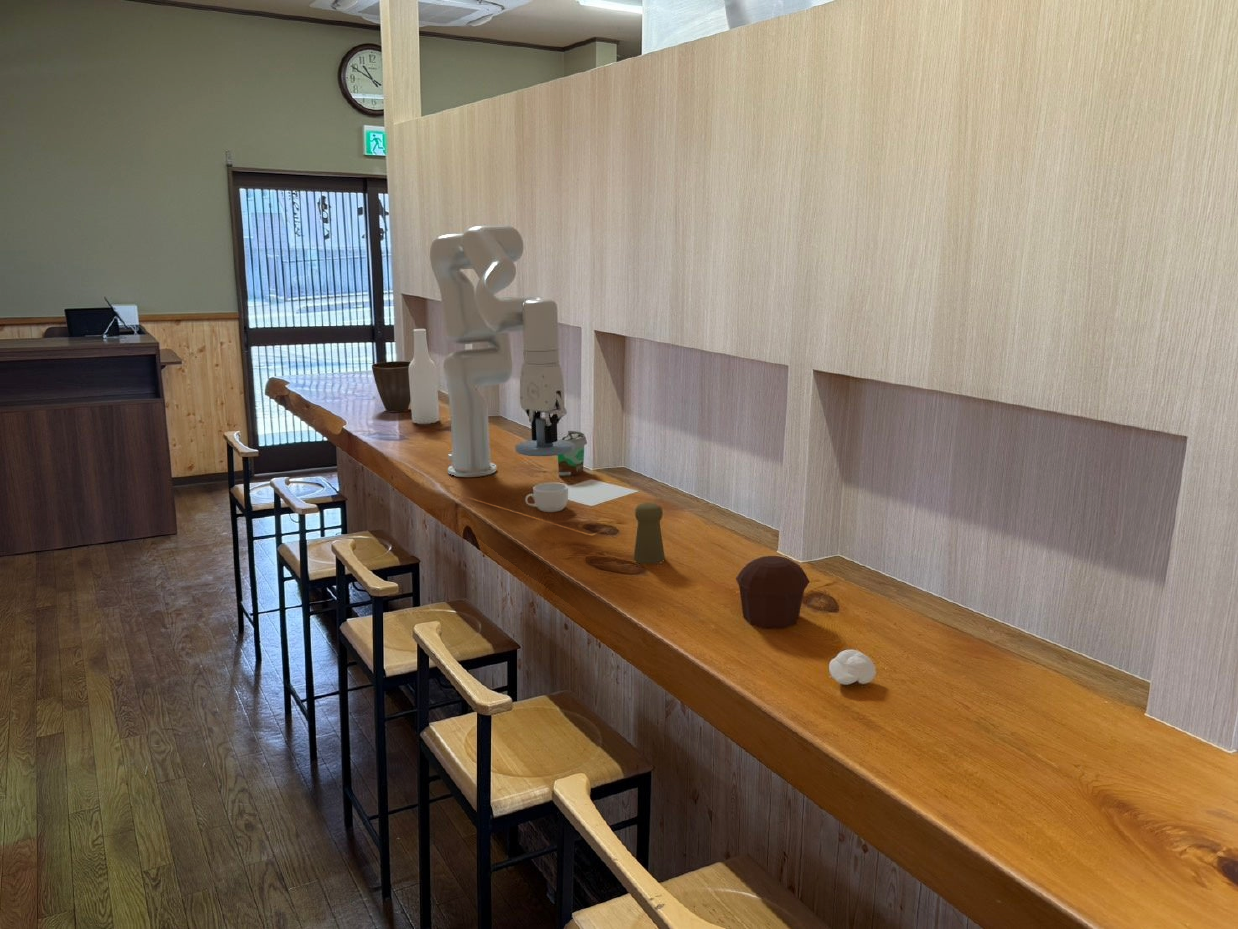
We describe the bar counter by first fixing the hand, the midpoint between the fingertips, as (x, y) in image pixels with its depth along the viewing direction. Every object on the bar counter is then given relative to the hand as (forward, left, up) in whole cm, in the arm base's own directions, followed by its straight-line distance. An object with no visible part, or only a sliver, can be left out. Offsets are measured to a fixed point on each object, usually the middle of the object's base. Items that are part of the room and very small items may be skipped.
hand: (544, 440), depth 207 cm
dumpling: (+92, -26, -17) cm, 97 cm away
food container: (-18, +26, -16) cm, 36 cm away
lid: (0, 0, -2) cm, 2 cm away
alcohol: (-102, +39, -16) cm, 111 cm away
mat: (-2, +16, -16) cm, 23 cm away
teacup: (0, 0, -16) cm, 16 cm away
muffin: (+71, -15, -16) cm, 74 cm away
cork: (+38, -8, -16) cm, 42 cm away
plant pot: (-126, +44, -16) cm, 135 cm away
